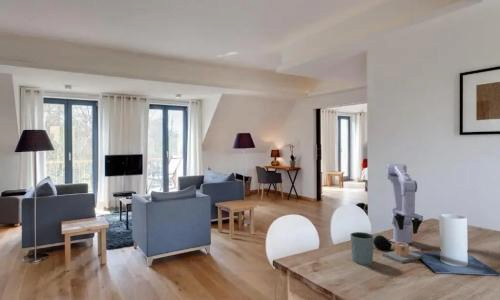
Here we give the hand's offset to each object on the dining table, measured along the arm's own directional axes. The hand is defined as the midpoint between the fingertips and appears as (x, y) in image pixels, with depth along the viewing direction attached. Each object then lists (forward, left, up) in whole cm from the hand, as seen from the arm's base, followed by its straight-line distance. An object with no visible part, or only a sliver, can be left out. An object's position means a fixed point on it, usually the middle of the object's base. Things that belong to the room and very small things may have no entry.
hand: (407, 231), depth 159 cm
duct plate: (+11, +5, -9) cm, 15 cm away
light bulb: (+9, -6, -10) cm, 15 cm away
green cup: (+32, 0, -10) cm, 33 cm away
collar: (+11, +5, -8) cm, 14 cm away
